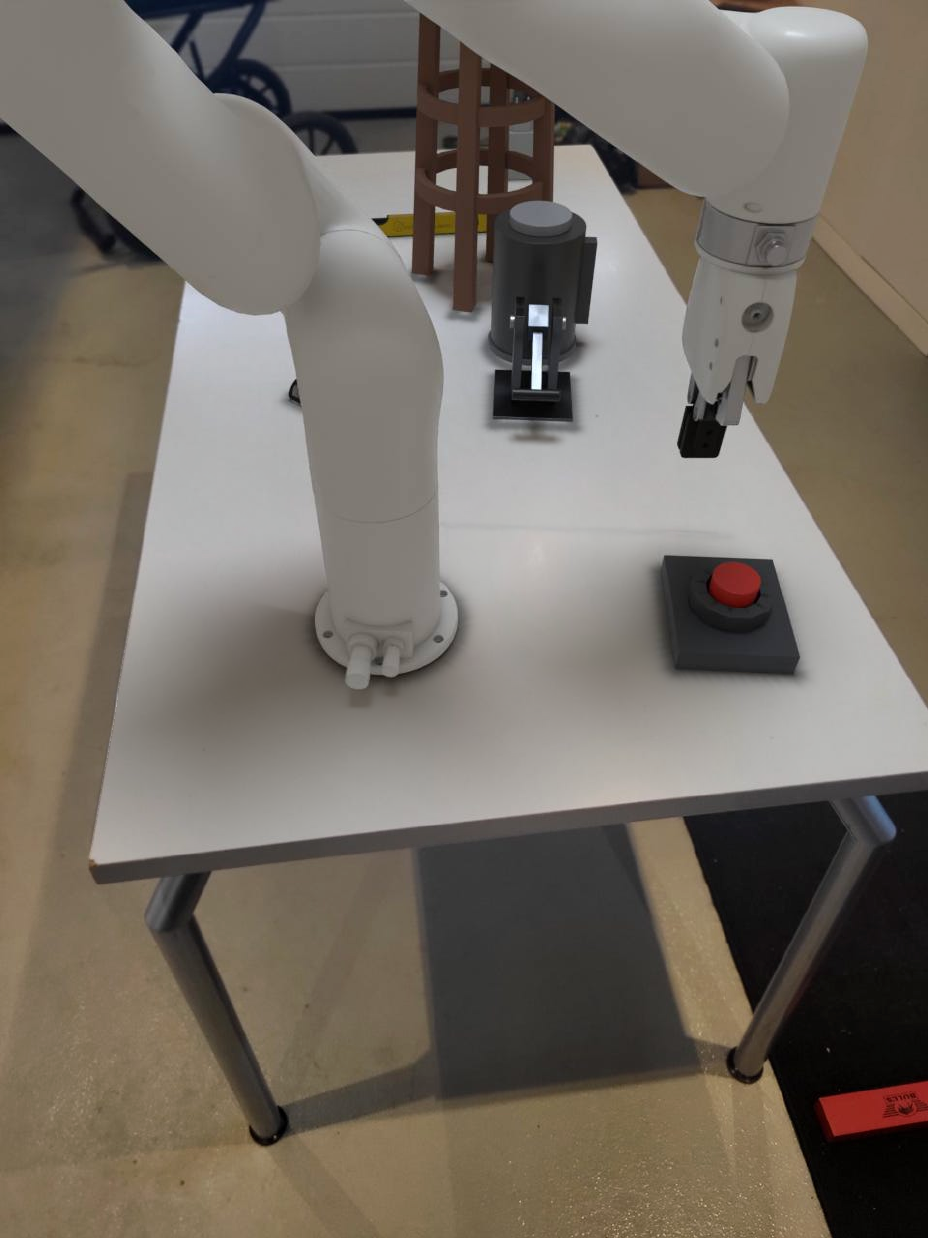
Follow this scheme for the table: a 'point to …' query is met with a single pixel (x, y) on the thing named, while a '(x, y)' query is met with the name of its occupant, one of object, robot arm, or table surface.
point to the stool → (472, 156)
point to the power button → (734, 584)
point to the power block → (726, 620)
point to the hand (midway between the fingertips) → (697, 451)
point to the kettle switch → (537, 356)
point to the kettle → (540, 273)
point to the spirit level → (404, 223)
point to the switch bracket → (522, 378)
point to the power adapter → (520, 144)
